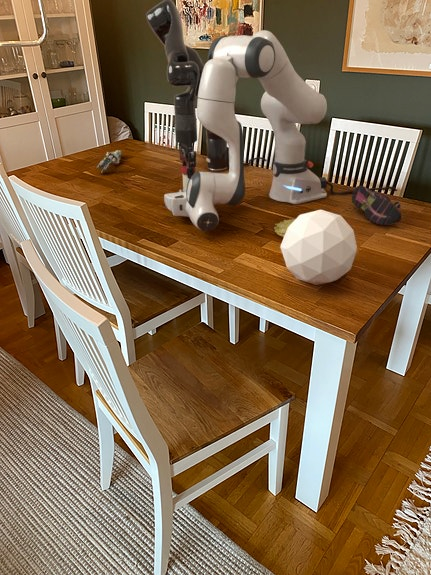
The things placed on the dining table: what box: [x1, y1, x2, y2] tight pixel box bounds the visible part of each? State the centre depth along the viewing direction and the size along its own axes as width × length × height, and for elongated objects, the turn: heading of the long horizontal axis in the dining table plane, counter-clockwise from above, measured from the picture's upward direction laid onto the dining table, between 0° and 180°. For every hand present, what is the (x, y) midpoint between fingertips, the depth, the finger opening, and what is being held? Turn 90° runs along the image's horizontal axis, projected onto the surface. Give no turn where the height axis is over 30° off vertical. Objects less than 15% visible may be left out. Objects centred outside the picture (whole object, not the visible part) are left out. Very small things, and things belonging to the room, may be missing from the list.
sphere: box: [279, 209, 358, 286], centre depth 117 cm, size 19×20×20 cm
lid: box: [180, 165, 196, 175], centre depth 159 cm, size 5×5×2 cm
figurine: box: [96, 150, 123, 174], centre depth 213 cm, size 7×8×30 cm
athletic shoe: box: [351, 185, 403, 226], centre depth 153 cm, size 11×22×12 cm
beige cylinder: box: [181, 173, 189, 192], centre depth 163 cm, size 4×4×15 cm
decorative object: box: [273, 218, 296, 238], centre depth 145 cm, size 21×2×20 cm
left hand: (188, 175), depth 160 cm, fingers closed on lid, 5 cm apart
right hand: (188, 190), depth 164 cm, fingers closed on beige cylinder, 4 cm apart
